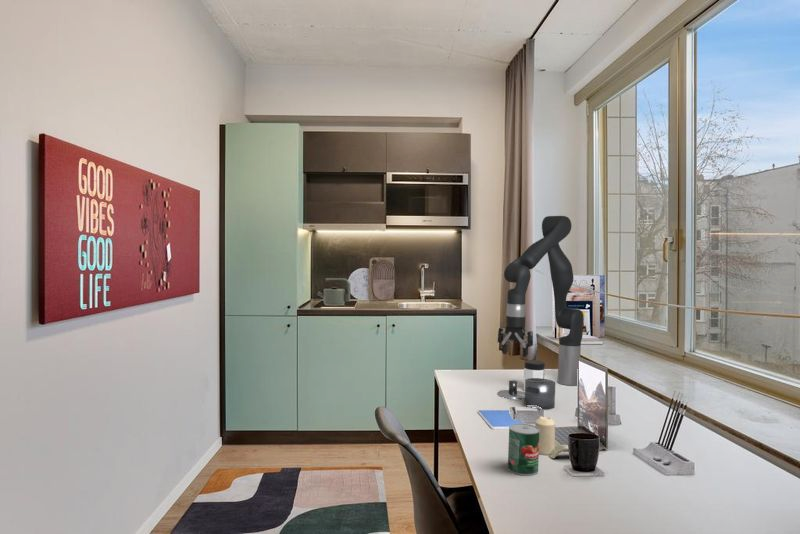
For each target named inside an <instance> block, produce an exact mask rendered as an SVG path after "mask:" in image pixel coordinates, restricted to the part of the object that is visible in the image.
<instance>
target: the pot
mask: <svg viewBox="0 0 800 534" xmlns="http://www.w3.org/2000/svg"><path fill="white" fill-rule="evenodd" d="M524 392H525V399H524V406H525V405H537V406H539V407H541V408H542V409H543V410H545V411H546V410H547V411H549V410H552V409H555V408H556V406H555V404H556V381H554V380H551V379H548V378H547V379H546V378H544V379H542V378H530V379H526V380H525V391H524ZM543 410H542V411H543Z"/></svg>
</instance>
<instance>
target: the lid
mask: <svg viewBox="0 0 800 534" xmlns="http://www.w3.org/2000/svg"><path fill="white" fill-rule="evenodd" d="M498 395H499V396H498ZM497 396H498V397H500V398H502V397H504V398H503V399H506V398H507V399H506V400H514V399H520V400H525V391H522V390H518V381H517V380H509V381H508V389H504V390H499V391H497Z"/></svg>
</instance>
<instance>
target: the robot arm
mask: <svg viewBox="0 0 800 534" xmlns="http://www.w3.org/2000/svg"><path fill="white" fill-rule="evenodd" d="M571 231H572V221H571V219H570V218H569V217H568V216H567V215H566V216H565V215H547V216H545V217H544V218H543V219H542V222H541V232H542V236H543V237H542V238H541V239H538V240H537V241H535V242H533V243H532V244H531V245H529V246H528V247H527V249H525V250H524V251H523V253H522V254H521V255H520V256H519V257H517V258H516V259H514V260H513V261H511V262H510V263H509V264H508V265H507V266H506V267H505V268H504V272H503V277H504V279H505V280H506V281H507V282H509V283H512V284H513V283H514V284H515V287H514V288H510V289H508V291H507V301H506V304H507V305H506V311H505V312H506V313H505V326H506V328H504V327H499V328H498V331H497V333H498V334H497V343H499V344H500V345H501V351H502V352H501V353H502V354H503V355H507V354H508V343H509V342H510V341H516V342H519V343H520V344H521V345H522V357H523V358H526V357H527V356H528V355H529V348H530V347H532V346H534V336H533V335H534V333H533V331H532V330H530V331H528V330H527V331H526V313H527V310H526V296H527V291H528V287H529V284H530V280H531V277H532V276H531V270H532V269H534V268H535V267H536V266H537V265H538V264H539V262H540V261H541V260H543V258H544V257H545V256H546V255H547V258H548V263H549V270H550V279H551V283H552V288H553V289H552V290H553V298H554V300H553V301H554V315H555V322H556V325H557V326H558V327H559V328H560V329H565V330H569V332H568V334H567V335H564V336H561V337H559V338H558V359H557V360H558V364H557V365H558V366H557V367H558V368H557V383H558V384H560V385H564V386H571V385H574V386H578V385H577V369H578V359H579V358H580V359H581V353H582V352H581V349H582V348H581V345H582V340H583V333H584V321H585V319H584V313H583V311H582V310H581V309H579V308H578V309H577V308H571V307H569V308H568V306H567V296H568V294H569V292H570V290H571V288H572V285H574V284H573V283H574V272H573V271H574V270H573V267H572V266H573V265H572V263H571V261H570V260H569V258H568V256H567V255H566V254H565V253H564V251H563V249H562V248H561V247H560V242H562V241H563V240H565V238H566V237H568V236H569V234H570V233H571ZM505 334H506V336H505V337H504V335H505ZM525 336H526V337H527V339H526V337H525Z"/></svg>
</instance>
